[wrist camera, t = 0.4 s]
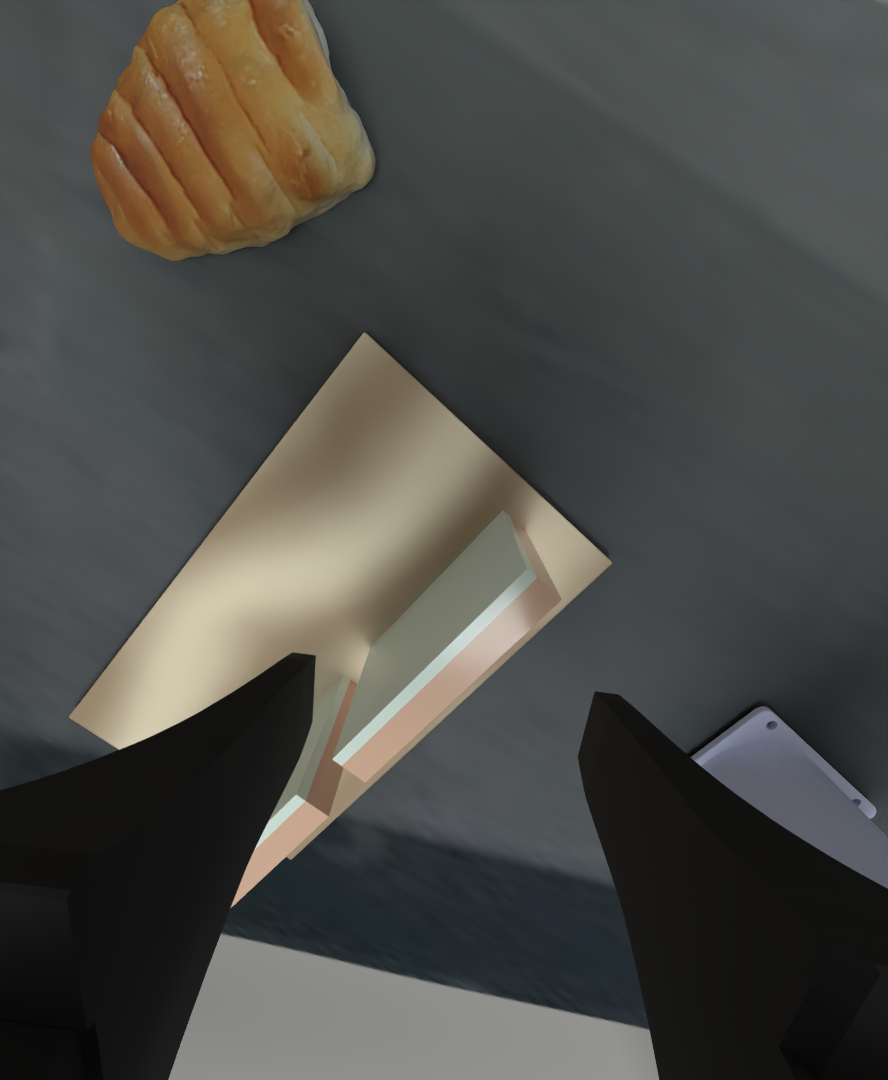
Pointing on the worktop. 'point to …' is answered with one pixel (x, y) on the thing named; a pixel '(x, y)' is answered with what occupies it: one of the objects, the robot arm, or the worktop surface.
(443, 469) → the board
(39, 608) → the worktop surface
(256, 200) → the pastry
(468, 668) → the tile
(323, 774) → the tile
